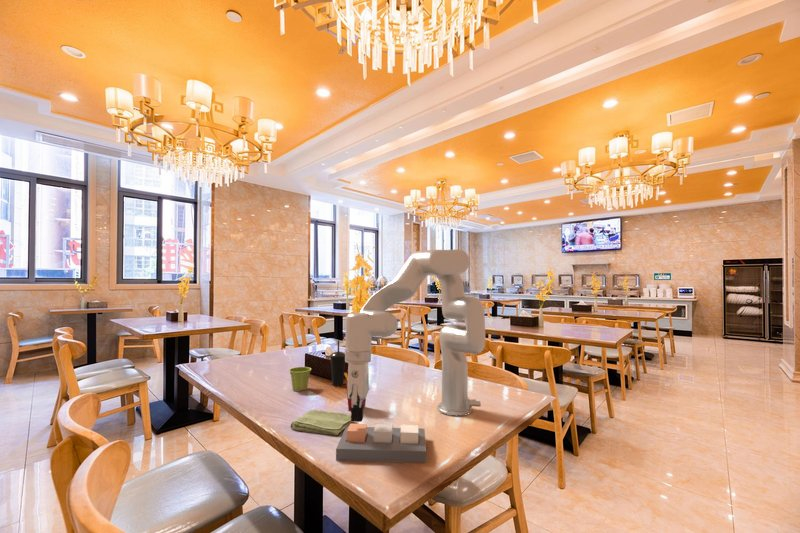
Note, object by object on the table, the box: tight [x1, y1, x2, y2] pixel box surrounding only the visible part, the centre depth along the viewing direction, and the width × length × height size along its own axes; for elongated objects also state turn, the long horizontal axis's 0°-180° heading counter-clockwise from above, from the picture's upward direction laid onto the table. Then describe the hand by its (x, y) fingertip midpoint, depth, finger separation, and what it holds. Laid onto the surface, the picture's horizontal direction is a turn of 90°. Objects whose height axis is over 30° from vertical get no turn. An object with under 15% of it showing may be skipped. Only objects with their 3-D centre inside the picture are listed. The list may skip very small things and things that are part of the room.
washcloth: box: [290, 409, 353, 437], centre depth 114 cm, size 13×18×3 cm
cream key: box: [400, 424, 419, 444], centre depth 98 cm, size 5×5×3 cm
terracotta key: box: [347, 423, 368, 442], centre depth 99 cm, size 5×5×3 cm
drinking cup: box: [329, 340, 346, 387], centre depth 159 cm, size 8×8×20 cm
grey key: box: [374, 423, 394, 443], centre depth 99 cm, size 5×5×3 cm
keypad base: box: [335, 426, 427, 463], centre depth 99 cm, size 24×14×3 cm, turn 88°
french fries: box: [344, 372, 367, 412], centre depth 130 cm, size 9×8×15 cm
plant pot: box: [288, 366, 312, 392], centre depth 151 cm, size 9×9×9 cm
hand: (356, 420), depth 99 cm, fingers closed
